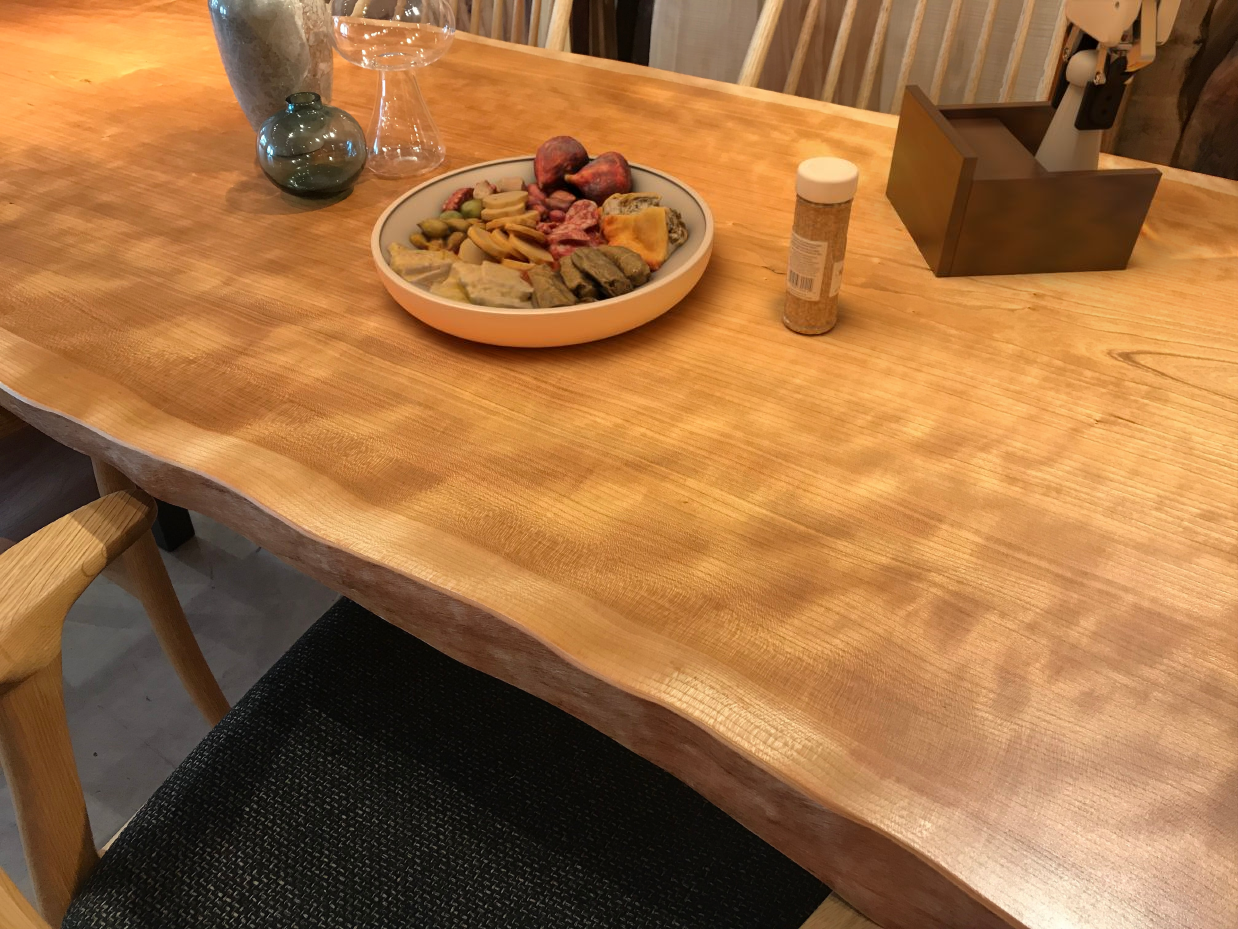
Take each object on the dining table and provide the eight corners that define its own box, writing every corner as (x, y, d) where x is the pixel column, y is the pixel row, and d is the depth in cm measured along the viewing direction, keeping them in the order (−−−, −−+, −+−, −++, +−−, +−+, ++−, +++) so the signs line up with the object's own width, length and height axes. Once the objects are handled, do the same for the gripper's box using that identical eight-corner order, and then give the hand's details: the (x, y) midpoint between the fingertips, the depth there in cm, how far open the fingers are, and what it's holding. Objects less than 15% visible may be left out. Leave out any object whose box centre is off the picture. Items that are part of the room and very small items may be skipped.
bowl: (714, 371, 71) (719, 282, 66) (339, 363, 73) (316, 276, 68) (709, 201, 94) (713, 125, 89) (423, 198, 96) (410, 124, 90)
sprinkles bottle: (846, 327, 76) (872, 171, 67) (800, 342, 74) (821, 184, 65) (814, 302, 79) (835, 149, 70) (769, 315, 77) (785, 161, 68)
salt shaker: (1093, 192, 87) (1141, 48, 78) (1082, 216, 83) (1131, 68, 75) (1029, 180, 89) (1069, 39, 81) (1016, 203, 85) (1056, 58, 77)
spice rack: (1049, 187, 95) (1082, 78, 87) (1125, 269, 82) (1172, 149, 75) (885, 193, 94) (905, 84, 87) (935, 277, 81) (964, 157, 74)
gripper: (1268, -104, 63) (1168, 154, 75) (1151, -143, 76) (1081, 84, 88) (1161, -101, 63) (1078, 157, 75) (1061, -140, 75) (1004, 86, 87)
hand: (1080, 115), depth 81 cm, fingers closed on salt shaker, 4 cm apart
